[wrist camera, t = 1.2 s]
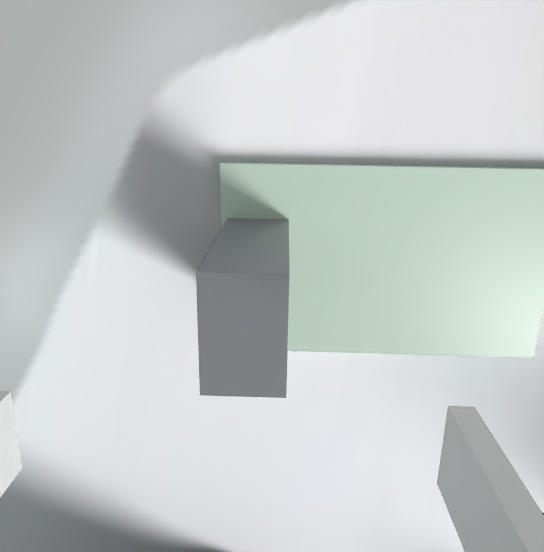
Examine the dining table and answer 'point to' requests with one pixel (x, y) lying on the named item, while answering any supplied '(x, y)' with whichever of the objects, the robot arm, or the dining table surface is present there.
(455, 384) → the dining table surface
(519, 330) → the green platform with post
